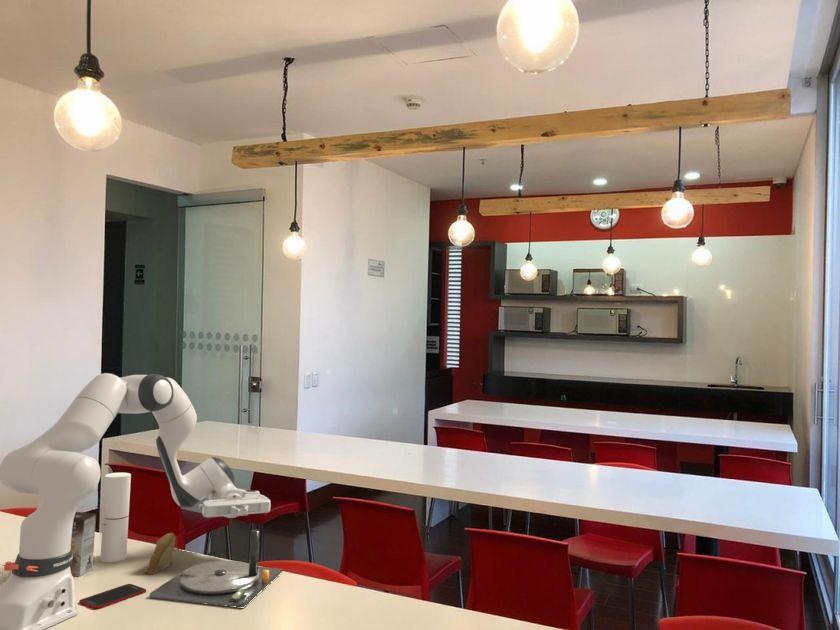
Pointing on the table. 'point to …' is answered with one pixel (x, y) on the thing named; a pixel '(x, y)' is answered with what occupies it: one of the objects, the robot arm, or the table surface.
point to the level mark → (265, 576)
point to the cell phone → (112, 596)
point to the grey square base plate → (238, 598)
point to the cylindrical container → (115, 517)
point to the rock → (162, 553)
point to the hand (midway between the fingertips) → (243, 512)
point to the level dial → (223, 573)
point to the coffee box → (82, 543)
